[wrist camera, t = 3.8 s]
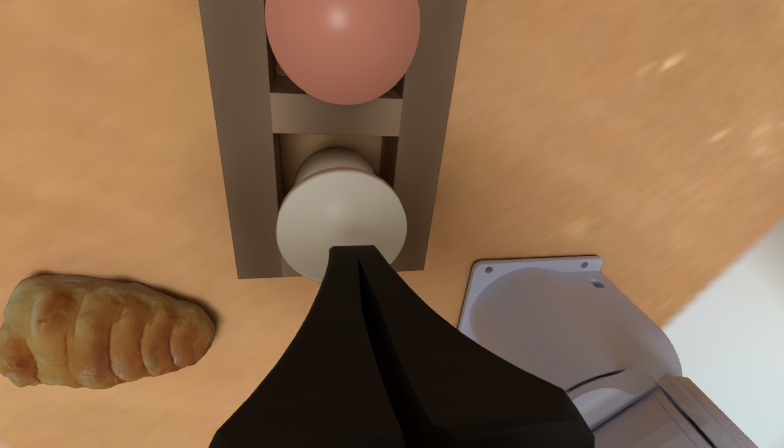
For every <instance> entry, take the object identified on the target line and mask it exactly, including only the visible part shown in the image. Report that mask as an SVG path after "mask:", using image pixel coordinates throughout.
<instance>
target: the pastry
mask: <svg viewBox="0 0 784 448" xmlns="http://www.w3.org/2000/svg"><path fill="white" fill-rule="evenodd" d="M3 315H4V321H3V324H2V326H1V328H0V373H1V374H2V375H3V376H5V377H8V378H9V379H10V380H11V381H12V382H13V383H14V384H15V385H16V386H18V387H24V386H27V385H30V386H35V385H38V384H42V383H43V384H47V385H62V386H69V387H72V388H81V387H87V388H90V389H107V388H111V387H113V386H115V385H117V384H121V383H125V382H131V381H135V380H138V379H140V378H142V377H146V376H152V377H155V376H160V375H163V374H166V373H169V372H174V371H178V370H180V369H182V368H184V367H186V366H192V365H194V364H196V363H197V362H198V361H199V360H200V359H201V358H202V357H203V356H204V355H205V354H206V352H207V351H208V349H209V348H210V347H211V345H212V342H213V340H214V336H215V326H214V324H213V322H212V321H211V319H210V317H209V316H208V315H207V313H206V312H205V311H204V310H203V309H202V308H201V307H200V306H198V305H196V304H194V303H192V302H190V301H186V300H180V299H176V298H173V297H171V296H169V295H167V294H164V293H162V292H159V291H156V290H154V289H152V288H151V287H149V286H146V285H144V284H141V283H138V282H132V283H124V282H120V281H115V280H105V279H99V278H94V277H87V276H75V275H41V276H35V277H28V278H25V279H24V280H22V281H21V282H20V283H18V285H17V286H16V287H15V288H14V290H13V292H12V294H11V296H10V298H9V301H8V304H7V305H6V307H5V310H4V314H3Z"/></svg>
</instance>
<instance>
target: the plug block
mask: <svg viewBox="0 0 784 448" xmlns="http://www.w3.org/2000/svg"><path fill="white" fill-rule="evenodd" d="M198 1H199V8H200V15H201V22H202V29H203V36H204V43H205V50H206V57H207V64H208V71H209V78H210V85H211V92H212V99H213V106H214V113H215V120H216V127H217V134H218V141H219V148H220V155H221V162H222V169H223V176H224V184H225V191H226V198H227V205H228V212H229V219H230V226H231V233H232V240H233V247H234V254H235V261H236V268H237V275H238V279H251V278H272V277H292V276H302V275H301V274H299V273H298V272H296V271H295V270H294V269H293V268H292V267H291V266H290V265H289V264H288V263H287V262H286V260H285V259H284V257H283V256H282V254H281V252H280V249H279V246H278V243H277V237H276V228H277V220H278V214H279V210H280V207H281V204H282V202H283V183H282V166H281V149H280V133H291V134H327V135H364V136H382V149H381V162H380V175H379V177H380V178H381V179H383V180H384V181H385V182H386V183H387V184H389V185H390V187H391V188H392V189H393V190H394V191H395V193H396V195H397V196H398V198H399V200H400V202H401V205H402V207H403V209H404V212H405V215H406V221H407V233H406V238H405V242H404V244H403V247H402V249H401V251H400V253H399V254H398V256H397V257H396V258H395V260H394V261H393V262H392V263H391V264H390V265H391V267H392V268H393V269H394V270H395V271H417V270H424V264H425V258H426V252H427V245H428V239H429V233H430V227H431V221H432V214H433V208H434V202H435V196H436V190H437V183H438V177H439V171H440V165H441V158H442V152H443V146H444V140H445V134H446V127H447V121H448V115H449V109H450V102H451V96H452V90H453V84H454V78H455V71H456V65H457V59H458V53H459V47H460V40H461V34H462V28H463V22H464V15H465V9H466V3H467V0H418V4H419V10H420V34H419V40H418V45H417V48H416V52H415V55H414V57H413V60H412V62H411V64H410V66H409V68H408V69H407V71H406V73H405V74H404V75H403V77H402V78H401V79H400V80H399V81H398V82H397V83H396V85H395V86H394V87H392V88H391V89H390V90H389V91H387V92H386V93H384V94H383V95H381V96H380V97H378V98H375V99H373V100H371V101H368V102H364V103H361V104H354V105H340V104H333V103H329V102H325V101H322V100H320V99H317V98H315V97H313V96H311V95H310V94H308V93H306V92H305V91H304V90H302V89H301V88H299V87H298V86H297V85H296V84H295V83H294V82H293V81H292V80H291V79H290V78H289V77H288V76H276V65H275V55H274V53H273V51H272V48H271V45H270V43H269V39H268V35H267V31H266V23H265V3H266V0H198Z"/></svg>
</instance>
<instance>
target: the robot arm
mask: <svg viewBox="0 0 784 448" xmlns="http://www.w3.org/2000/svg"><path fill="white" fill-rule="evenodd" d="M582 263H583V264H582ZM602 265H603V260H602V259H601V258H600V257H599V256H580V257H557V258H535V259H512V260H490V261H478V262H477V263H475V264H474V265H473V267H472V272H471V276H470V280H469V284H468V288H467V293H466V297H465V301H464V305H463V309H462V313H461V318H460V322H459V326H458V329H456V328H455V327H453V326H452V325H451V324H450V323H448V322H447V321H446V320H445V319H443V318H442V317H441V316H440V315H438V314H437V313H436V312H435V311H434V310H432V309H431V308H430V307H429V306H428V305H427V304H426V303H425V302H424V301H423V300H422V299H421V298H420V297H419V296H418V295H417V294H416V293H415V292H414V291H413V290H412V289H411V288H410V287H409V286H408V285H407V284H406V283H405V281H404V280H403V279H402V278H401V277H400V276H399V275H398V274H397V273H396V271H395V270H394V269H393V268H392V267H391V265H390V264H389V263H388V262H387V260H386V259H385V258H384V257H383V255H382V254H381V253H380V251H379V250H378V249H377V248H376V247H375V246H374V245H354V246H332V247H331V248H330V249H329V260H328V265H327V269H326V272H325V275H324V278H323V281H322V284H321V286H320V289H319V292H318V294H317V296H316V298H315V300H314V303H313V305H312V307H311V309H310V311H309V313H308V315H307V317H306V319H305V321H304V322H303V324H302V326H301V328H300V329H299V331H298V333H297V334H296V336H295V337H294V339H293V341H292V342H291V343H290V345H289V346H288V348H287V349H286V351H285V352H284V354H283V355H282V357H281V358H280V360H279V361H278V362H277V364H276V365H275V366H274V367H273V369H272V370H271V371H270V372H269V374H268V375H267V376H266V377H265V379H264V380H263V381H262V382H261V383H260V385H259V386H258V387H257V388H256V390H255V391H254V392H253V393H252V394H251V395H250V397H249V398H248V399H247V400H246V401H245V402H244V403H243V404H242V405H241V406H240V407H239V408H238V409H237V410H236V411H235V412H234V414H233V415H232V416H231V417H230V418H229V419H228V420H227V421H226V422H225V423H224V424H223V425H222V426H221V427H220V428H219V429H218V430H217V431H216V433H215V435H214V437H213V439H212V441H211V443H210V445H209V448H758V447H757V446H756V445H755V444H754V443H753V442H752V441H751V440H750V439H749V438H748V437H747V436H746V435H745V434H744V433H743V432H742V431H741V430H740V429H739V428H738V427H737V426H736V425H735V424H734V423H733V422H732V421H731V420H730V419H729V418H728V417H727V416H726V415H725V414H724V413H723V412H722V411H721V410H720V409H719V408H718V407H717V406H716V405H715V404H714V403H713V402H712V401H711V400H710V399H709V398H708V397H707V396H706V395H705V394H704V393H703V392H702V391H701V390H700V389H699V388H698V387H697V386H696V385H695V384H694V383H693V382H692V381H691V380H690V379H689V378H686V377H682V369H681V364H680V361H679V358H678V356H677V353H676V351H675V349H674V347H673V345H672V344H671V342H670V340H669V339H668V337H667V336H666V335H665V333H664V332H663V331H662V330H661V329H660V328H659V327H658V326H657V325H656V324H655V323H654V322H653V321H652V320H651V319H650V318H649V317H648V316H647V315H646V314H645V313H644V312H642V311H641V310H640V309H639V308H638V307H637V306H636V305H635V304H634V303H633V302H632V301H631V300H630V299H629V298H628V297H627V296H625V295H624V294H623V293H622V292H621V291H620V290H619V289H618V288H617V287H616V286H615V285H614V284H613V283H612V282H611V281H610V280H608V279H607V278H606V277H605V276H604V275H603V274H602V273H601V272H600V269H601V267H602ZM488 267H490V268H489V269H486V268H488Z"/></svg>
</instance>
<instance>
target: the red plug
mask: <svg viewBox="0 0 784 448" xmlns="http://www.w3.org/2000/svg"><path fill="white" fill-rule="evenodd" d="M265 23H266V31H267V35H268V39H269V43H270V45H271V48H272V51H273V53H274V55H275V57H276V59H277V61H278V63H279V65H280V66H281V68H282V69H283V71H284V72H285V73H286V74H287V76H288V77H289V78H290V79H291V80H292V81H293V82H294V83H295V84H296V85H297V86H298V87H299V88H301V89H302V90H304V91H305V92H306V93H308V94H310V95H311V96H313V97H315V98H317V99H320V100H322V101H325V102H329V103H333V104H340V105H354V104H361V103H364V102H368V101H371V100H373V99H375V98H378V97H380V96H381V95H383V94H384V93H386V92H387V91H389V90H390V89H391V88H392V87H394V86H395V85H396V83H397V82H398V81H399V80H400V79H401V78H402V77H403V75H404V74H405V73H406V71H407V69H408V68H409V66H410V64H411V62H412V60H413V57H414V55H415V52H416V48H417V45H418V40H419V34H420V10H419V4H418V0H266V3H265Z"/></svg>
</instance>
